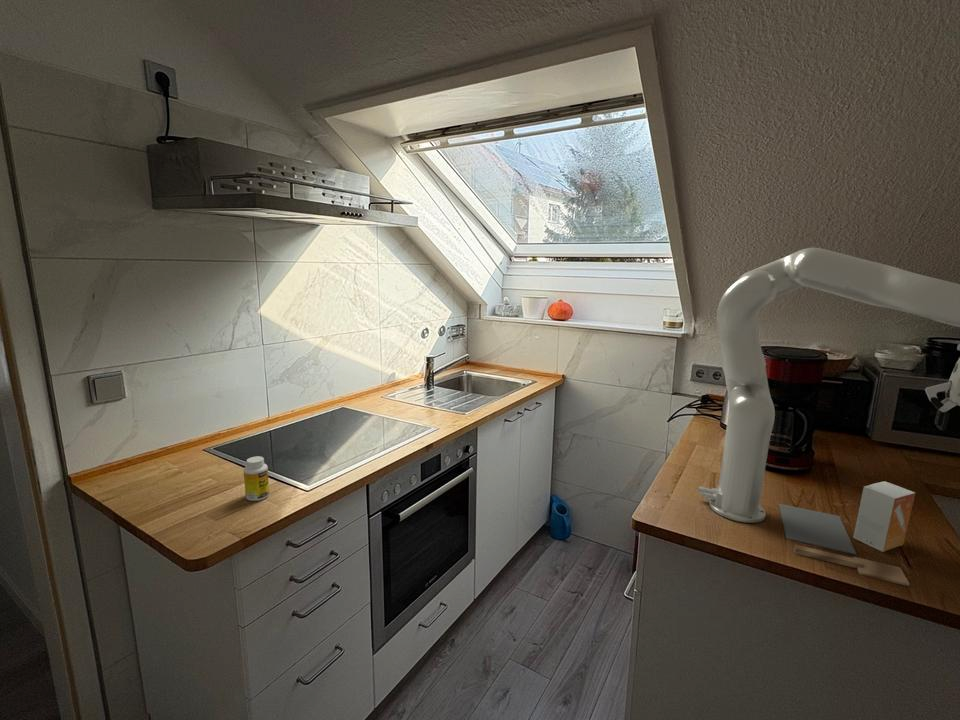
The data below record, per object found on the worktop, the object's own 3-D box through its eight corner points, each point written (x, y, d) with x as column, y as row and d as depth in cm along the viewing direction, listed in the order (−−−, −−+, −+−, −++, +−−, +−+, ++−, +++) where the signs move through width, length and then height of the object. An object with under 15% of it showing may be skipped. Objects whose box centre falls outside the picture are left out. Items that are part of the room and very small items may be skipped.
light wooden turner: (795, 558, 104) (796, 553, 104) (792, 544, 109) (793, 539, 109) (909, 586, 96) (910, 581, 95) (899, 569, 101) (900, 564, 101)
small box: (883, 553, 107) (895, 498, 104) (852, 538, 112) (862, 485, 110) (904, 545, 110) (916, 492, 107) (873, 531, 116) (883, 480, 113)
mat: (786, 538, 111) (786, 537, 111) (778, 504, 127) (779, 503, 127) (856, 554, 106) (856, 553, 106) (839, 517, 122) (839, 516, 122)
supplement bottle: (261, 503, 121) (258, 464, 119) (240, 500, 122) (237, 462, 120) (274, 492, 127) (271, 455, 125) (254, 490, 127) (251, 454, 125)
